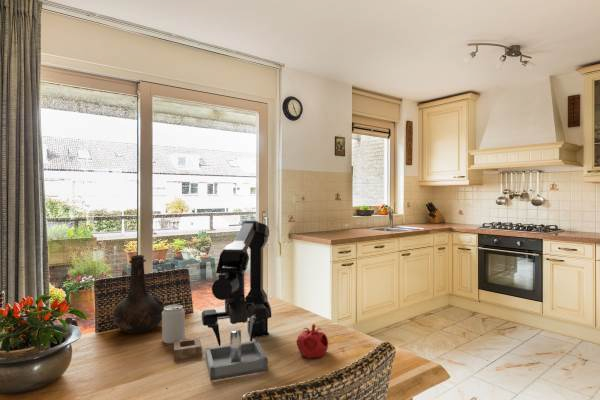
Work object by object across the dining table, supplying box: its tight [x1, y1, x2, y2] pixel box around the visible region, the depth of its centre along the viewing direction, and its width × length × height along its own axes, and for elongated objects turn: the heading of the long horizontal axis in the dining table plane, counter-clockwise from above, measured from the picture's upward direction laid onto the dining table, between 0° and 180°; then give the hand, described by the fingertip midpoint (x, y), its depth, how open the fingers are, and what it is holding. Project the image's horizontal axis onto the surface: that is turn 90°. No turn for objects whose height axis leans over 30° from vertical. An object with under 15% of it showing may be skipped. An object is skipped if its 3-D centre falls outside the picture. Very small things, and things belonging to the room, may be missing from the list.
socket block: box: [173, 336, 203, 361], centre depth 117 cm, size 8×8×4 cm
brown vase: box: [112, 254, 165, 334], centre depth 139 cm, size 18×18×28 cm
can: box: [161, 304, 186, 345], centre depth 128 cm, size 8×8×12 cm
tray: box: [205, 340, 269, 382], centre depth 109 cm, size 16×14×4 cm
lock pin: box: [229, 329, 242, 363], centre depth 109 cm, size 3×3×9 cm
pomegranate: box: [295, 323, 329, 359], centre depth 116 cm, size 10×10×9 cm
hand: (235, 343), depth 109 cm, fingers open, 9 cm apart
